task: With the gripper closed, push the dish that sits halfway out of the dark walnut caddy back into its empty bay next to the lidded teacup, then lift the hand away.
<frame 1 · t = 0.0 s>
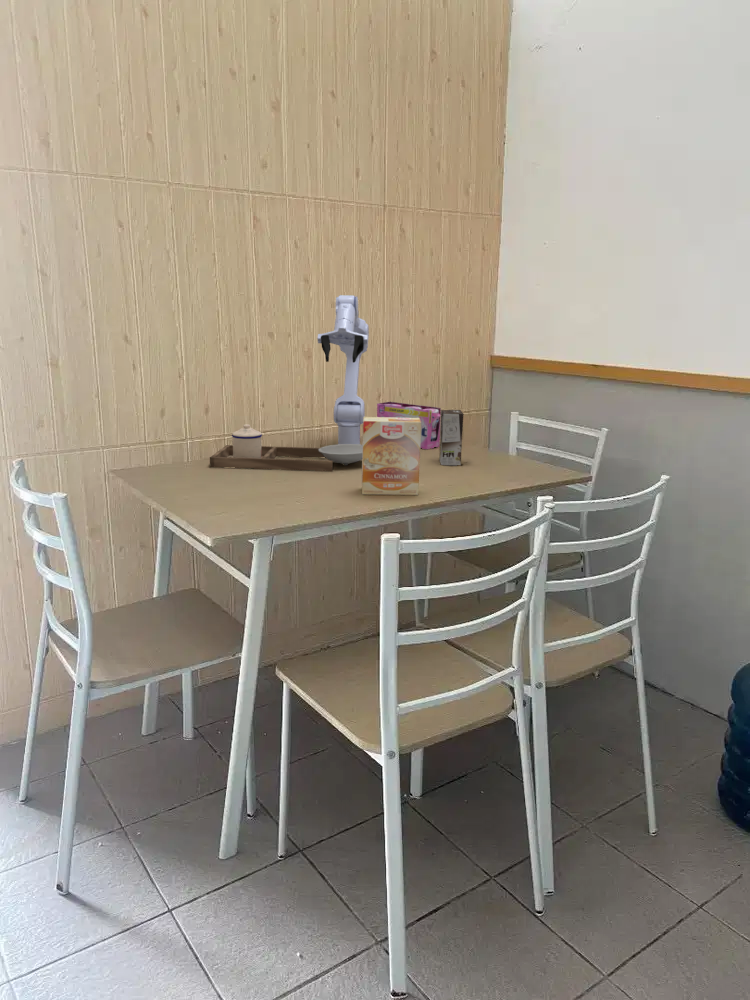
hand: (340, 359, 214), 32 cm above the table, tool tilted 50°, fingers open, 7 cm apart
gum box: (407, 444, 264), on the table
teacup with lid: (245, 462, 231), resting in caddy
coffee box: (449, 463, 235), on the table
caddy: (303, 463, 230), on the table
dish: (345, 465, 230), on the table
coffeecake box: (389, 492, 199), on the table
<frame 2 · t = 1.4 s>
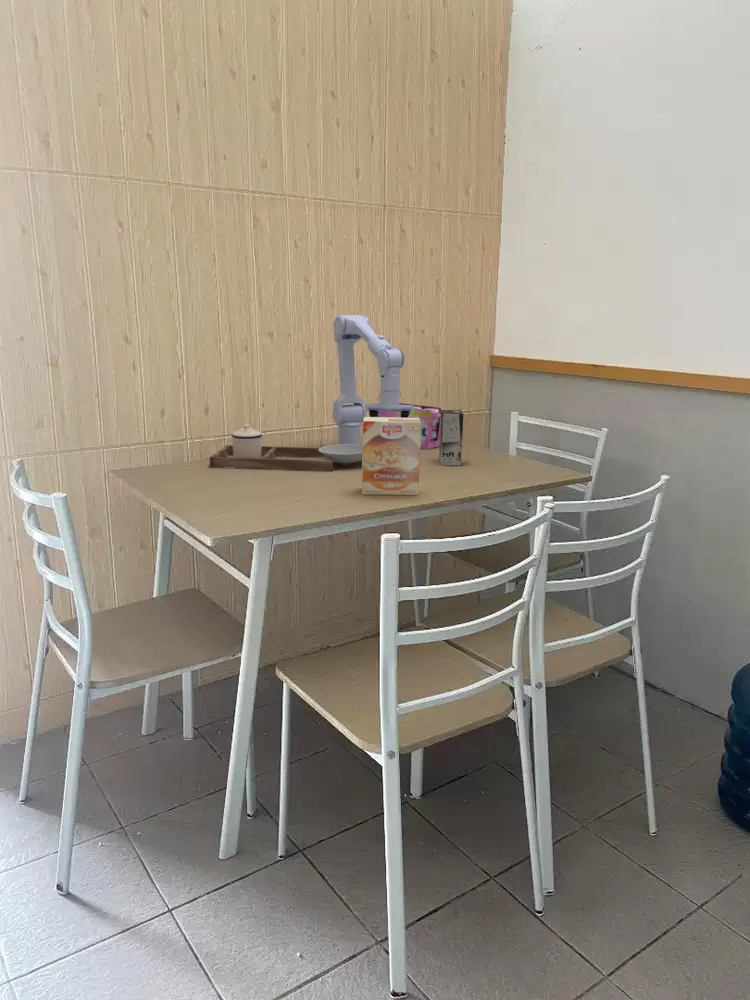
hand: (388, 435, 226), 9 cm above the table, tool pointing down, fingers open, 7 cm apart
nothing on the table moved.
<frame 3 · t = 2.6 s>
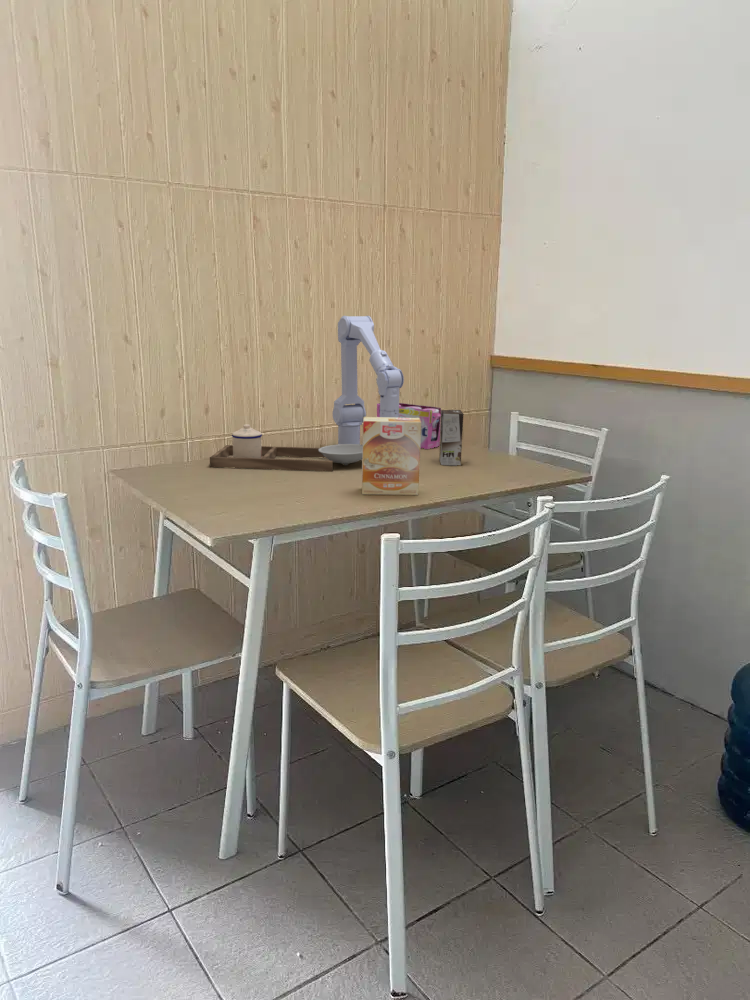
hand: (388, 454, 228), 4 cm above the table, tool pointing down, fingers closed
nothing on the table moved.
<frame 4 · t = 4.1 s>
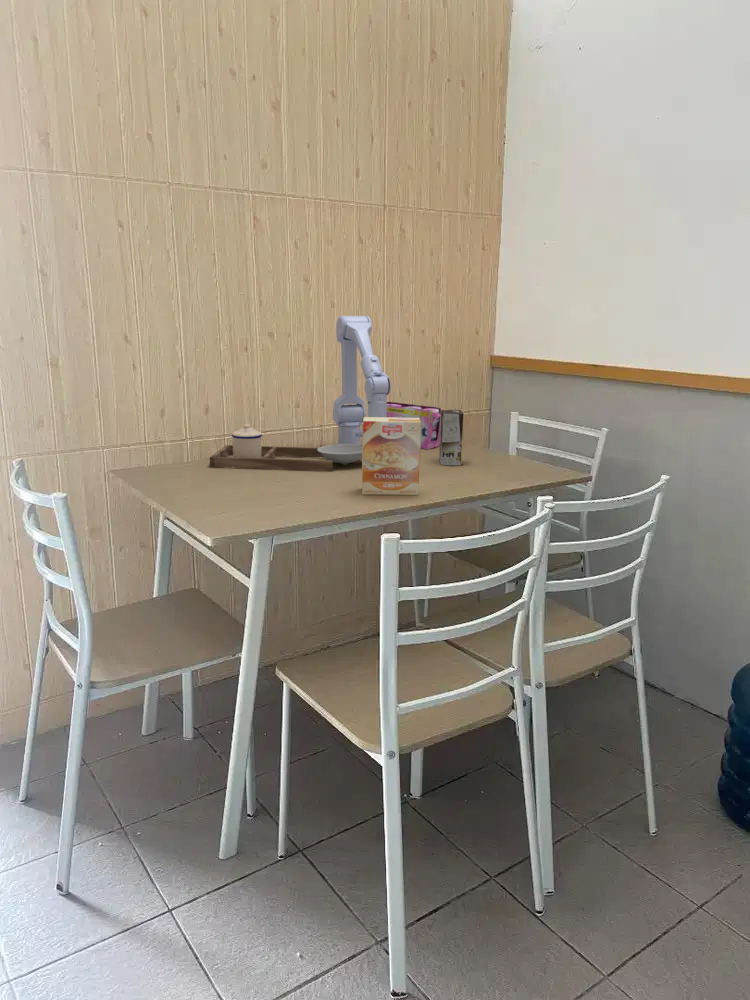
hand: (376, 460, 229), 2 cm above the table, tool pointing down, fingers closed
dish: (344, 465, 230), on the table, touching gripper
everything else where it was.
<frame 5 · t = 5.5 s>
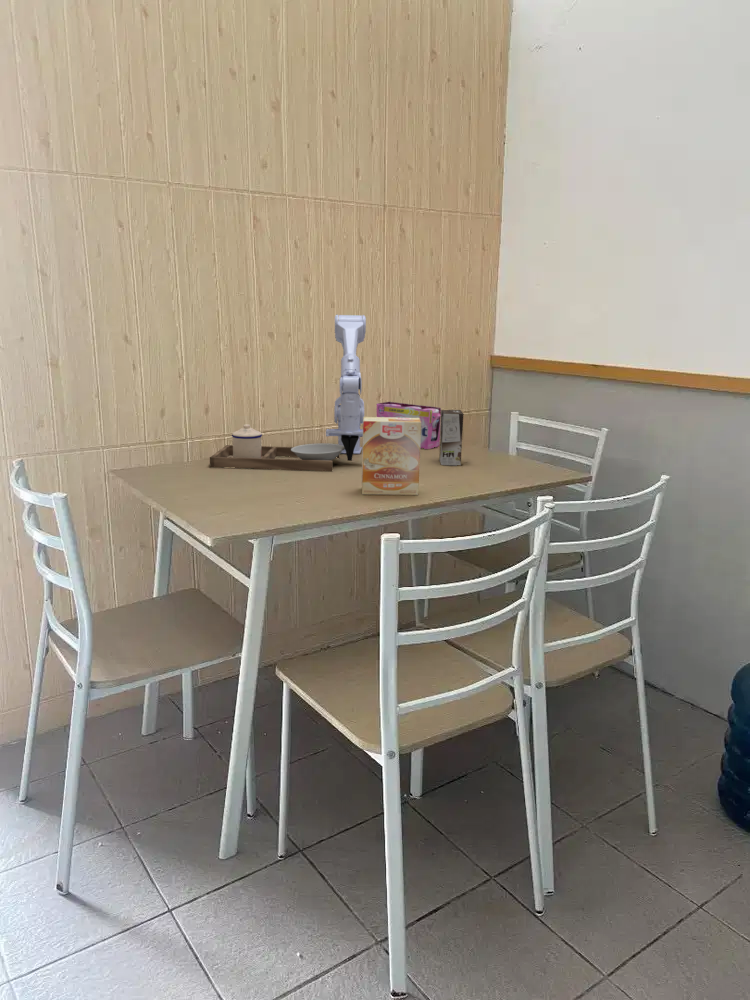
hand: (349, 460, 229), 2 cm above the table, tool pointing down, fingers closed
dish: (318, 464, 229), resting in caddy, touching gripper
everything else where it was.
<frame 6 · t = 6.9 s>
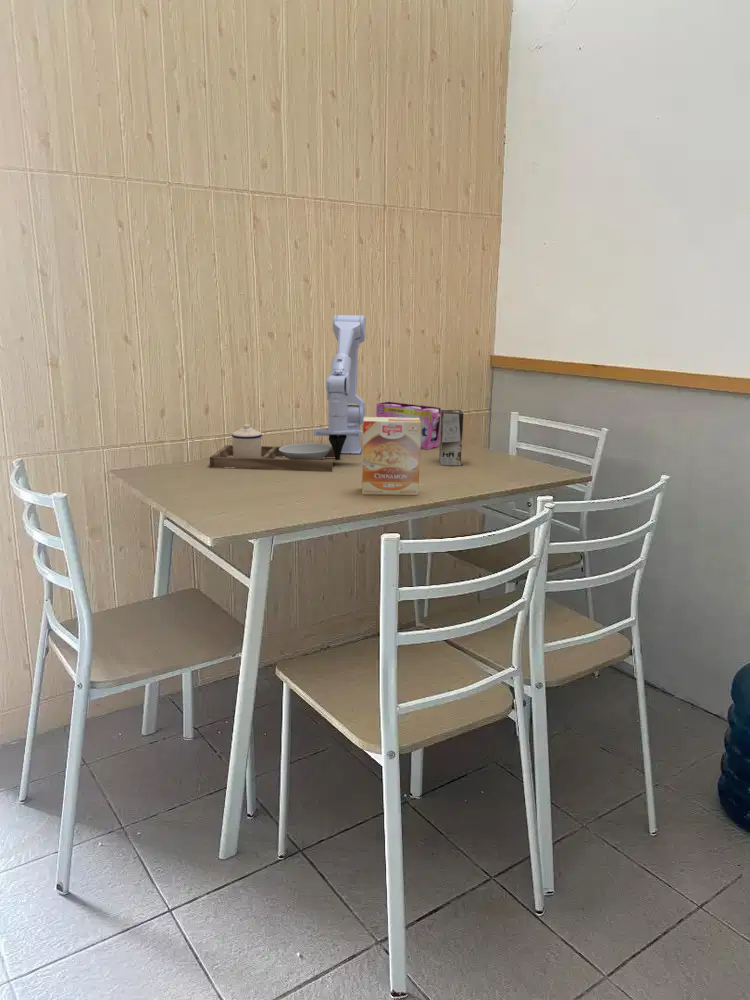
hand: (337, 459, 229), 2 cm above the table, tool pointing down, fingers closed
dish: (306, 464, 230), resting in caddy, touching gripper
everything else where it was.
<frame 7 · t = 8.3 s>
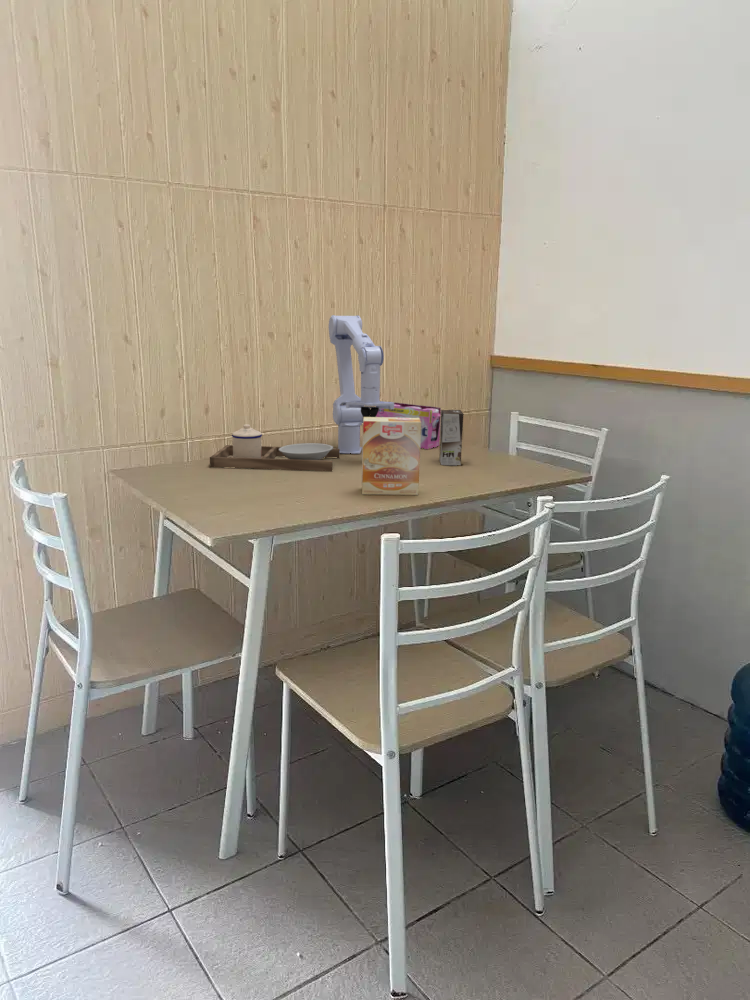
hand: (369, 432, 229), 10 cm above the table, tool pointing down, fingers closed
dish: (306, 464, 230), resting in caddy
everything else where it was.
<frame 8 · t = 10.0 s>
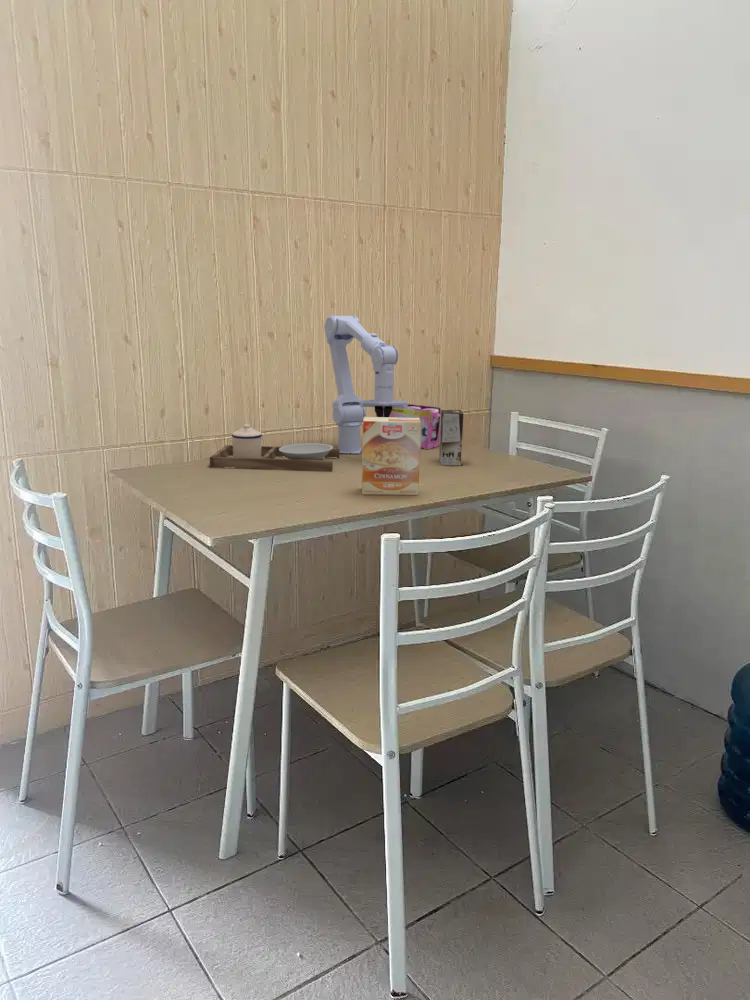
hand: (383, 430, 231), 10 cm above the table, tool pointing down, fingers closed
nothing on the table moved.
at the end: dish inside the target area (1.3 cm from its centre), resting in caddy; dish tilted 0° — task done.
